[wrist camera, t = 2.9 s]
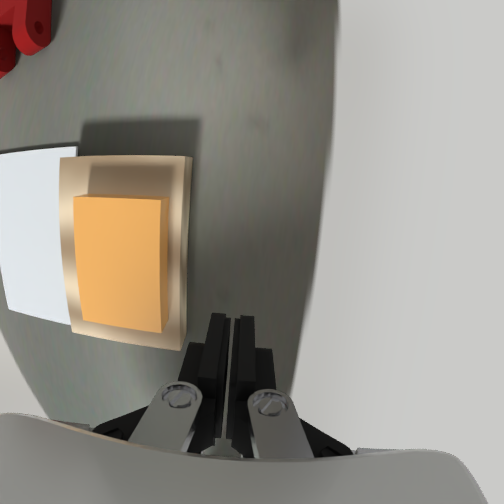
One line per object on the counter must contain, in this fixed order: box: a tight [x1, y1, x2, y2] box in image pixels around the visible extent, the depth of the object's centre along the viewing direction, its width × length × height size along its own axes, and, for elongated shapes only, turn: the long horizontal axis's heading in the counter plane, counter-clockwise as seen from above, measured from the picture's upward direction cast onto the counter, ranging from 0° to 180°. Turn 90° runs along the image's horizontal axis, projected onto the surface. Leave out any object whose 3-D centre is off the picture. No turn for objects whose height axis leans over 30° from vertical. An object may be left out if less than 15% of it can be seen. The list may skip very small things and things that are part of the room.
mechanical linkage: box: [0, 0, 52, 79], centre depth 16 cm, size 16×7×5 cm, turn 13°
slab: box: [73, 194, 169, 333], centre depth 22 cm, size 10×7×2 cm
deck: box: [59, 155, 193, 351], centre depth 24 cm, size 16×11×3 cm
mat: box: [0, 146, 78, 325], centre depth 25 cm, size 18×12×1 cm, turn 175°
